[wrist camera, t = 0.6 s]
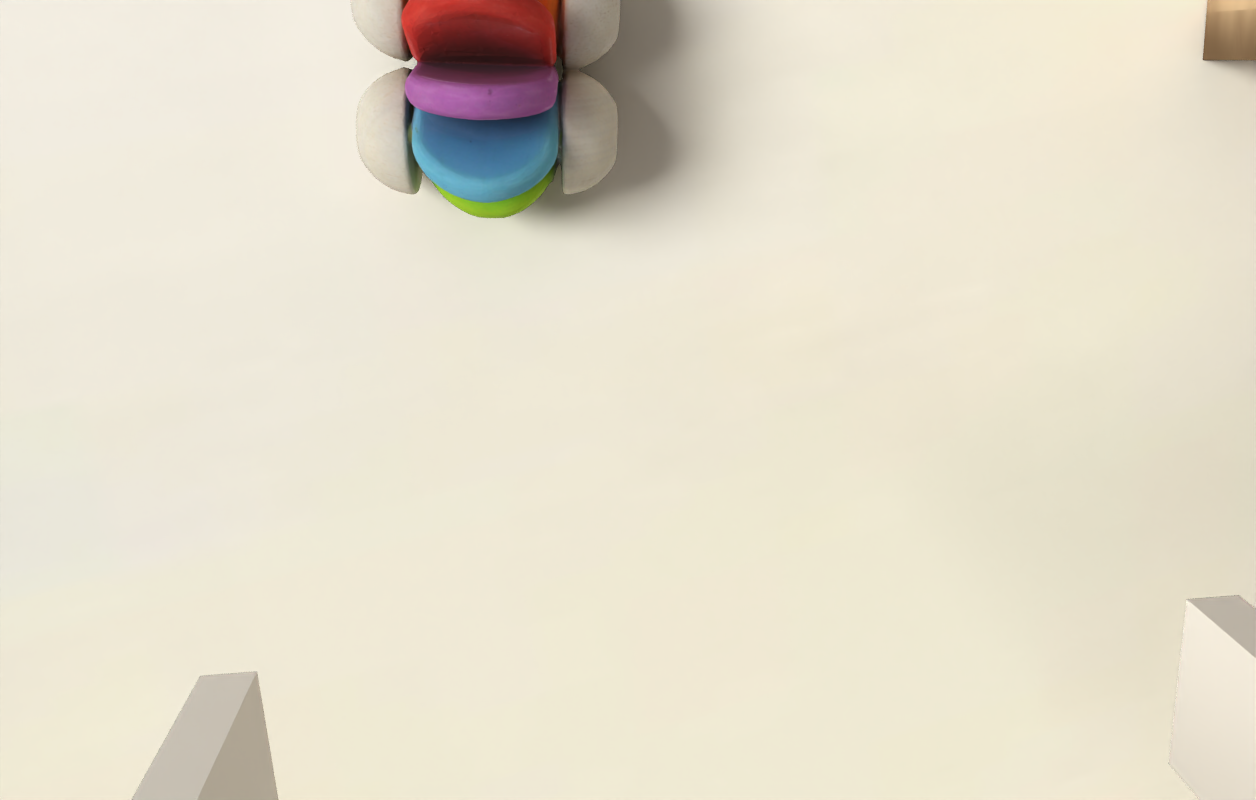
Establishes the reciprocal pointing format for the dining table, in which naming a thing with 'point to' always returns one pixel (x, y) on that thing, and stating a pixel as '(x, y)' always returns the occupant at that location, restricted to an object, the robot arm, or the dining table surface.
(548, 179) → the rainbow petal toy
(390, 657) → the dining table surface
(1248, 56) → the box
